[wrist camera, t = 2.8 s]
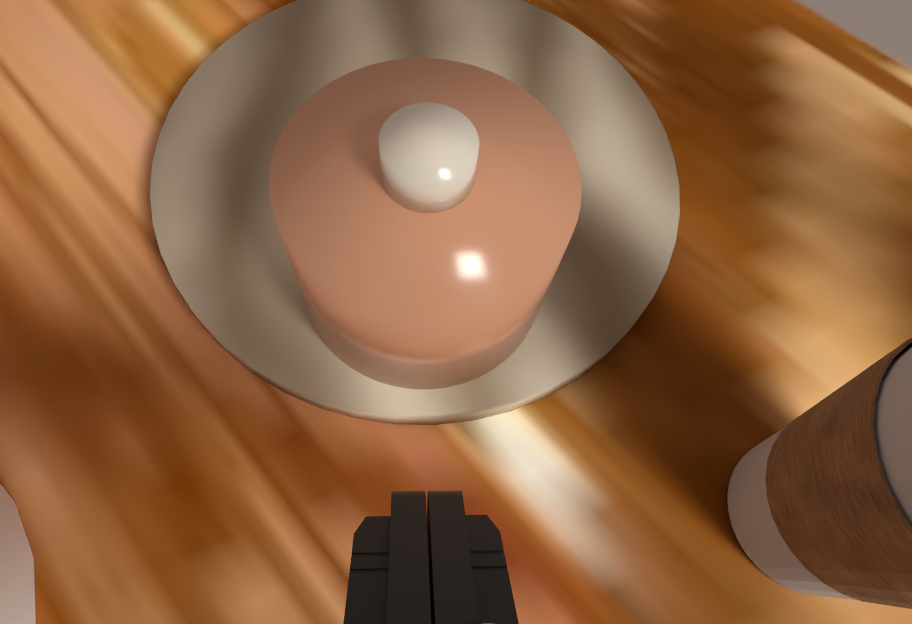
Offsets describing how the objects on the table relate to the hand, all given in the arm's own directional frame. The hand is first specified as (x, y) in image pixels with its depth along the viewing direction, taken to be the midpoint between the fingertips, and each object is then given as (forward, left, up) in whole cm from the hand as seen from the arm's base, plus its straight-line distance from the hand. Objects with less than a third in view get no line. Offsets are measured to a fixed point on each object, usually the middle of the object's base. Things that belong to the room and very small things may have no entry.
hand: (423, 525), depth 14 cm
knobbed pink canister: (-2, -11, -9) cm, 15 cm away
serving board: (-3, -17, -11) cm, 20 cm away
